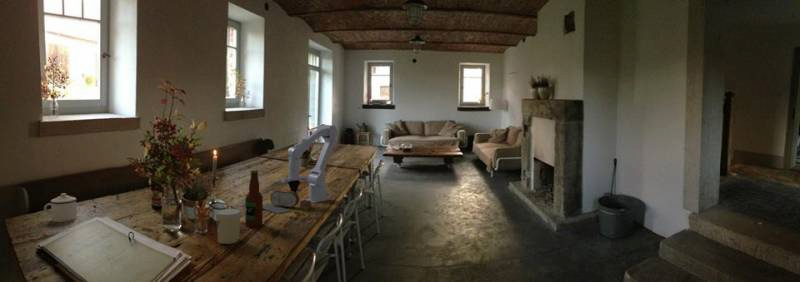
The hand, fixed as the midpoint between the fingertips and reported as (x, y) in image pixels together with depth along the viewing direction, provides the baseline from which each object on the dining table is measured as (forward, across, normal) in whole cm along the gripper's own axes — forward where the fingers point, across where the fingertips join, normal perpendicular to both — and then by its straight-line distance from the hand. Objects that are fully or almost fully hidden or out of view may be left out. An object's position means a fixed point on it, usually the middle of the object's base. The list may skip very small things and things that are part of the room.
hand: (293, 194), depth 227 cm
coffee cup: (+6, +52, +28) cm, 59 cm away
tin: (+6, +6, 0) cm, 8 cm away
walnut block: (+6, -1, +9) cm, 11 cm away
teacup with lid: (+6, +91, -45) cm, 102 cm away
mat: (+6, +12, 0) cm, 13 cm away
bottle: (+6, +34, +17) cm, 39 cm away
